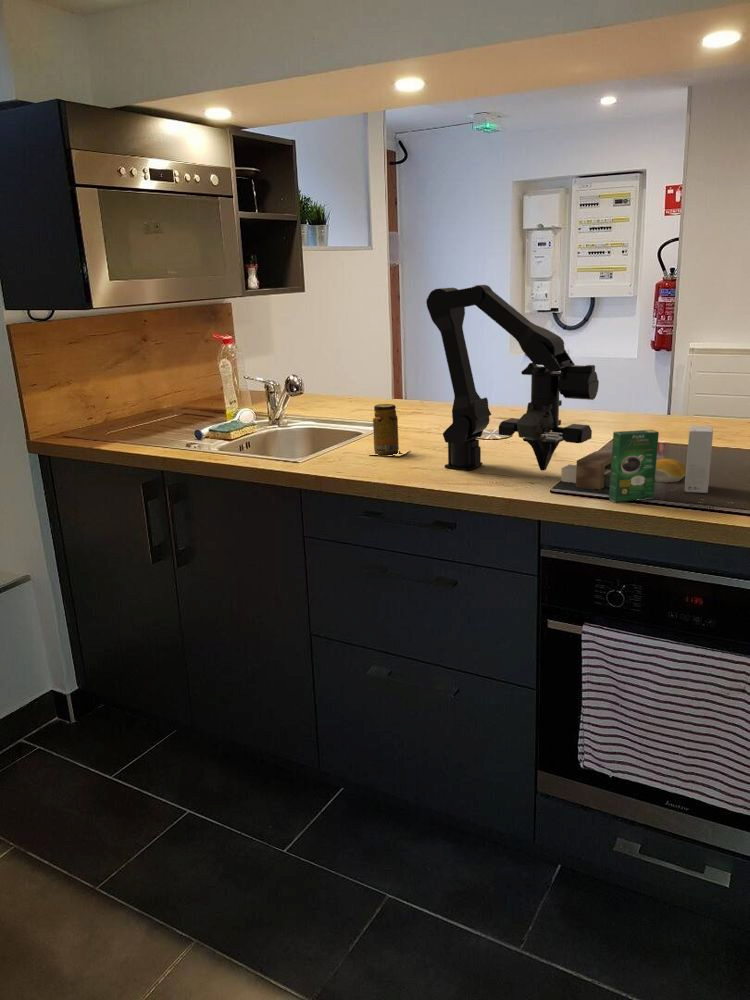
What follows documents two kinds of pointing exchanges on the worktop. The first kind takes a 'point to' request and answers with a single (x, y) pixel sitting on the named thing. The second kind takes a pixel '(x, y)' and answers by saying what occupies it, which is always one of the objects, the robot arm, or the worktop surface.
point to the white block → (570, 475)
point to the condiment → (385, 429)
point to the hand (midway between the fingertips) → (543, 470)
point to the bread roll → (669, 471)
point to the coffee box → (633, 465)
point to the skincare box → (698, 459)
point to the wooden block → (593, 470)
